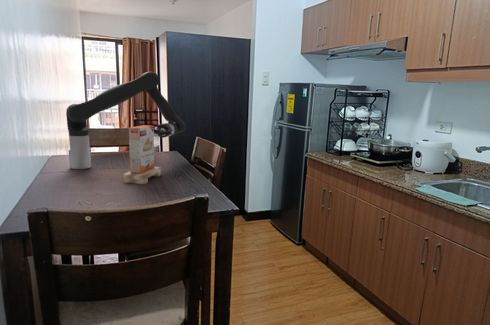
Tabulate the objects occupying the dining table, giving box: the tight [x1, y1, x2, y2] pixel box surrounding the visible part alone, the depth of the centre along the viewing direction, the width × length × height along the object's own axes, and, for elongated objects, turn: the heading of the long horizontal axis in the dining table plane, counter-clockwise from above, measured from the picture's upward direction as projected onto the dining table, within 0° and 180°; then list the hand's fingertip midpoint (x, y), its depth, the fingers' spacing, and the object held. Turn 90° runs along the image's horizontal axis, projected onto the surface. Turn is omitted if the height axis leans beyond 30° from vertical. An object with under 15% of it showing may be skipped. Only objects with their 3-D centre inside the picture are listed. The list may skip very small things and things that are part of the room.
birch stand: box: [122, 166, 162, 185], centre depth 154 cm, size 10×18×4 cm, turn 170°
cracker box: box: [128, 124, 155, 174], centre depth 152 cm, size 14×6×21 cm, turn 170°
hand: (152, 133), depth 166 cm, fingers open, 8 cm apart
